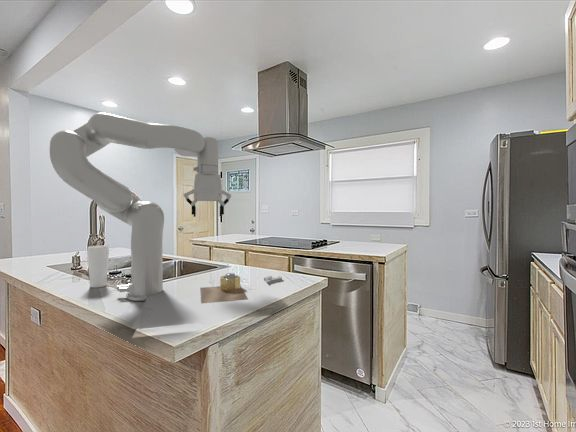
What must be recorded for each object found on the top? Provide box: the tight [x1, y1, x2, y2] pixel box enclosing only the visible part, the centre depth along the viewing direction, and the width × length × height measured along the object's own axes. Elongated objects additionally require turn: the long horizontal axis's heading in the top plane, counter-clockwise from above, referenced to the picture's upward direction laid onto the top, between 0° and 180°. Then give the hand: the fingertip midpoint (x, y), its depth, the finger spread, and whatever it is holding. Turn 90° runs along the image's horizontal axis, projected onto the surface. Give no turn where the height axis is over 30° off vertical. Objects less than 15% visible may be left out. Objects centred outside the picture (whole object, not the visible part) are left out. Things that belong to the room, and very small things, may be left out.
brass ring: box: [219, 274, 241, 291], centre depth 106 cm, size 7×7×4 cm
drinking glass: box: [86, 244, 110, 289], centre depth 113 cm, size 7×7×15 cm
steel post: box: [225, 272, 236, 279], centre depth 106 cm, size 3×3×5 cm
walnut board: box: [200, 285, 249, 304], centre depth 100 cm, size 14×18×2 cm
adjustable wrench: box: [263, 275, 283, 285], centre depth 116 cm, size 25×6×2 cm, turn 151°
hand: (207, 216), depth 114 cm, fingers open, 9 cm apart
